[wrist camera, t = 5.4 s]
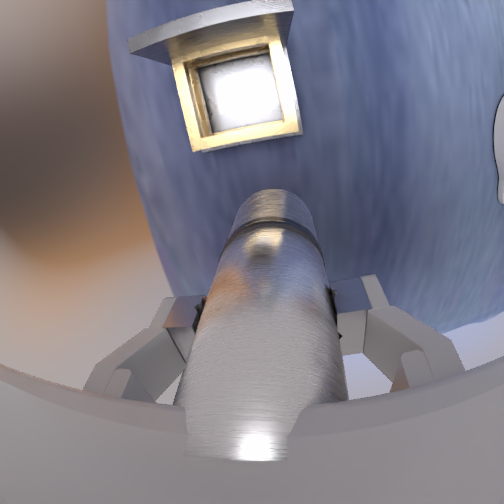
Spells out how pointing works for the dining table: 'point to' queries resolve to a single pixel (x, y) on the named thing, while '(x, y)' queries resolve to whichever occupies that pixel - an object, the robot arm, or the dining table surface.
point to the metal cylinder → (262, 336)
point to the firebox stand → (229, 72)
